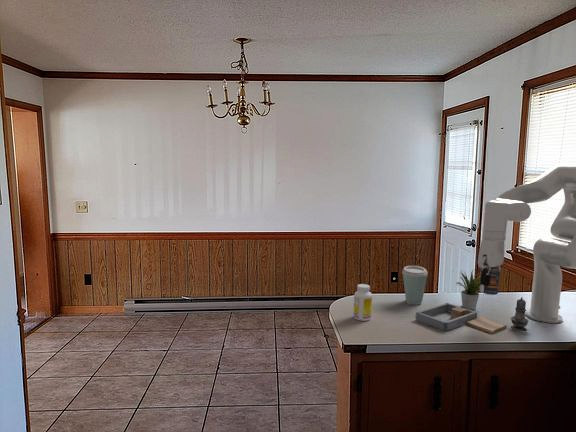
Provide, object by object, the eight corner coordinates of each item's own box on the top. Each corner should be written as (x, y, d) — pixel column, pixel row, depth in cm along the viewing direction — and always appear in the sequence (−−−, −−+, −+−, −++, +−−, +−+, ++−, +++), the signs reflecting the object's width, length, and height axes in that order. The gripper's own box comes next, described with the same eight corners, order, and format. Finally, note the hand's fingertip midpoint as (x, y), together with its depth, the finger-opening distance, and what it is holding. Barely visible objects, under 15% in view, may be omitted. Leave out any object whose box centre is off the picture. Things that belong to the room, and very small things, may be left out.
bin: (446, 309, 175) (446, 302, 174) (476, 319, 164) (477, 312, 164) (415, 319, 163) (416, 312, 162) (445, 331, 152) (446, 323, 152)
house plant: (447, 309, 175) (450, 271, 172) (447, 299, 187) (450, 263, 185) (485, 315, 170) (489, 275, 167) (483, 304, 182) (486, 267, 180)
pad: (480, 319, 165) (480, 316, 165) (506, 327, 157) (506, 325, 157) (466, 324, 159) (466, 322, 159) (492, 333, 151) (492, 331, 151)
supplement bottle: (373, 317, 165) (374, 284, 163) (368, 322, 159) (370, 289, 157) (356, 314, 168) (357, 282, 166) (351, 319, 162) (352, 286, 160)
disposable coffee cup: (429, 306, 178) (431, 271, 176) (403, 306, 178) (405, 271, 176) (421, 298, 188) (424, 265, 186) (397, 298, 188) (399, 264, 186)
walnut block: (456, 316, 168) (457, 306, 167) (466, 319, 164) (466, 309, 164) (450, 318, 165) (451, 308, 165) (460, 321, 162) (460, 311, 162)
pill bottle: (482, 294, 154) (484, 263, 152) (478, 289, 160) (480, 260, 158) (499, 295, 153) (502, 265, 151) (495, 291, 159) (498, 261, 157)
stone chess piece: (527, 333, 152) (530, 300, 151) (509, 329, 155) (512, 297, 154) (528, 327, 157) (531, 296, 156) (510, 324, 160) (513, 293, 159)
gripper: (496, 231, 162) (491, 278, 164) (471, 235, 151) (466, 284, 154) (516, 234, 156) (511, 282, 158) (491, 238, 145) (486, 290, 148)
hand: (489, 283), depth 156 cm, fingers closed on pill bottle, 6 cm apart
